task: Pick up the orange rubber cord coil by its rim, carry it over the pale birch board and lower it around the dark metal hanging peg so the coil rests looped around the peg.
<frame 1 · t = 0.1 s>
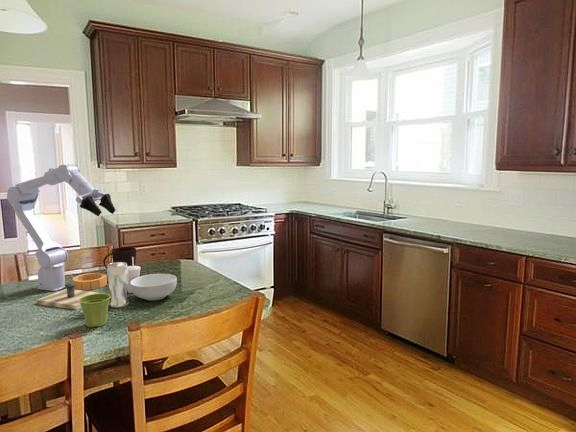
hand: (107, 213, 161), 32 cm above the table, tool tilted 50°, fingers open, 7 cm apart
cup: (120, 276, 191), on the table
plant pot: (96, 324, 137), on the table
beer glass: (119, 305, 155), on the table
peg board: (71, 300, 159), on the table
smoothie: (133, 292, 170), on the table
cord coil: (90, 285, 177), on the table
cereal bowl: (154, 297, 163), on the table
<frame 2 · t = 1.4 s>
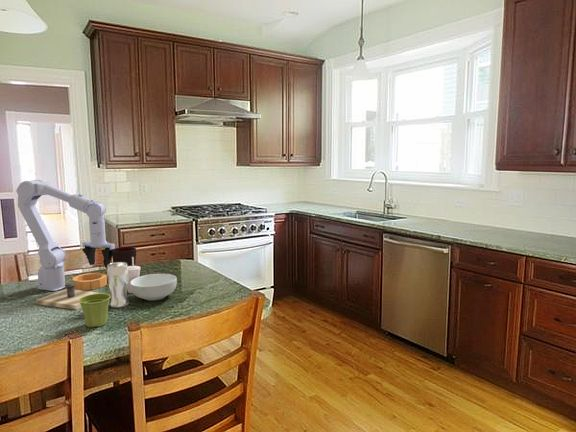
hand: (99, 265, 174), 9 cm above the table, tool pointing down, fingers open, 7 cm apart
nothing on the table moved.
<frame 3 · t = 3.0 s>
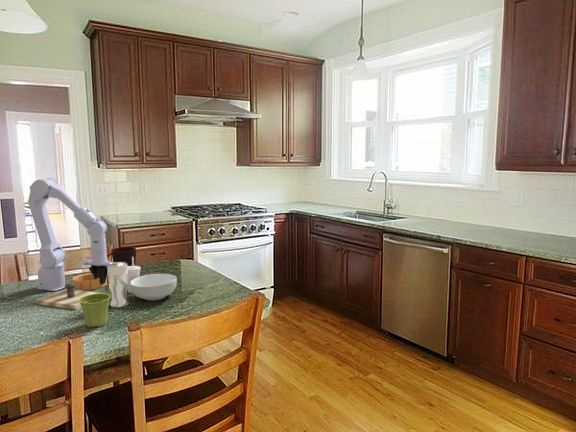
hand: (100, 283, 175), 1 cm above the table, tool pointing down, fingers closed on cord coil, 2 cm apart
cord coil: (90, 285, 177), on the table, touching gripper
everything else where it was.
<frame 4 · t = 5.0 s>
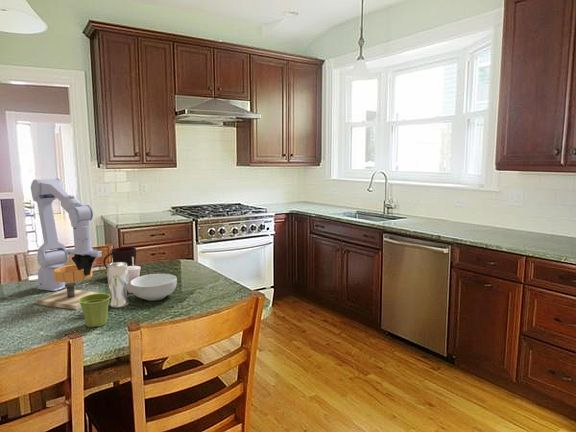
hand: (85, 274, 159), 9 cm above the table, tool pointing down, fingers closed on cord coil
cord coil: (73, 277, 161), point 8 cm above the table, touching gripper
everything else where it was.
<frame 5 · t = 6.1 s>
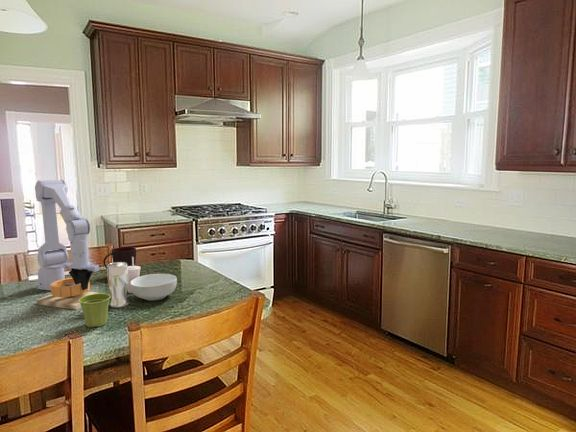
hand: (82, 288, 157), 5 cm above the table, tool pointing down, fingers closed on cord coil, 2 cm apart
cord coil: (71, 291, 159), point 3 cm above the table, touching gripper
everything else where it was.
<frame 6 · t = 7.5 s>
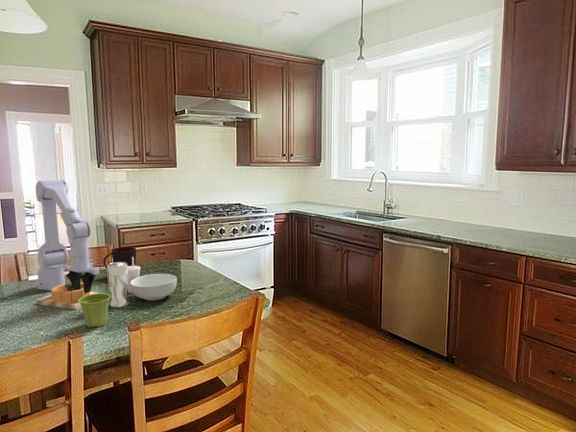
hand: (82, 291, 157), 4 cm above the table, tool pointing down, fingers open, 4 cm apart
cord coil: (71, 296, 159), point 1 cm above the table, touching peg board
everything else where it was.
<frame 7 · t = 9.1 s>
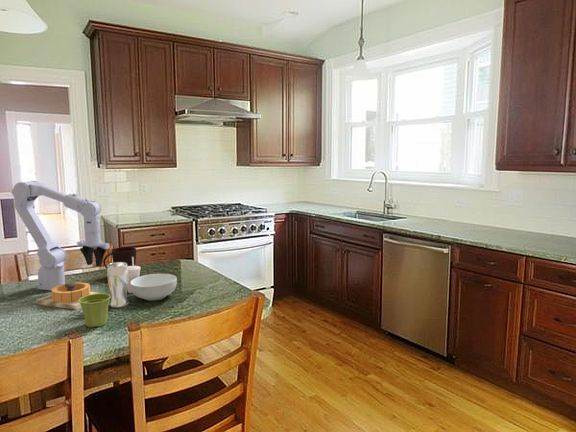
hand: (94, 265, 173), 9 cm above the table, tool pointing down, fingers open, 4 cm apart
nothing on the table moved.
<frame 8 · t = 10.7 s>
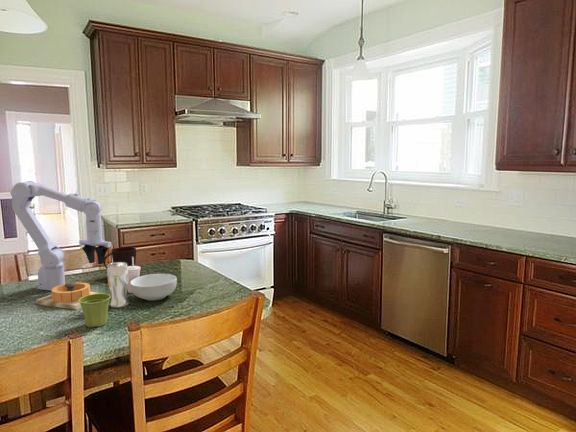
hand: (96, 263, 176), 9 cm above the table, tool pointing down, fingers open, 4 cm apart
nothing on the table moved.
at the end: cord coil 0.3 cm from the peg board (horizontally); cord coil point 1.5 cm above the table; the gripper is holding nothing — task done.
